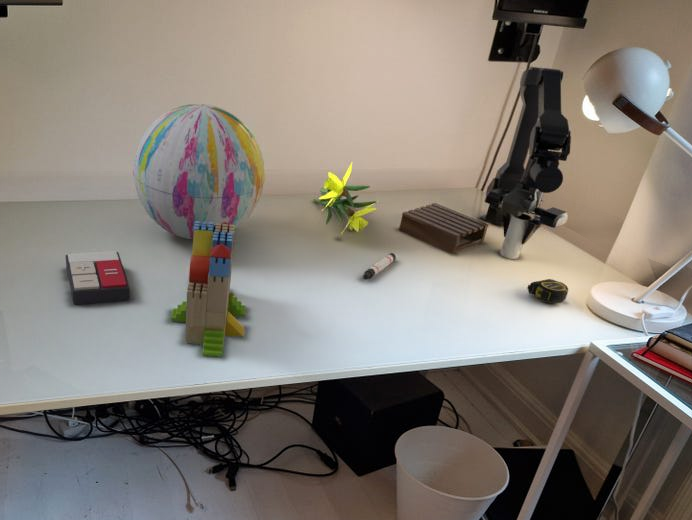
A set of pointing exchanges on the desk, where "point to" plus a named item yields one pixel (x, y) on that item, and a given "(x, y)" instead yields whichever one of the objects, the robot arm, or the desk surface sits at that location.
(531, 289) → the tape measure
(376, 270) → the marker
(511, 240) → the grey hollow cylinder
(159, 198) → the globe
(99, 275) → the calculator
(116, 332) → the desk surface
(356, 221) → the daffodil flowers
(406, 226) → the rack
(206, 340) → the block set
